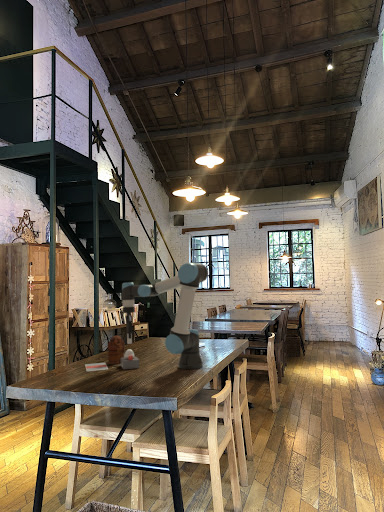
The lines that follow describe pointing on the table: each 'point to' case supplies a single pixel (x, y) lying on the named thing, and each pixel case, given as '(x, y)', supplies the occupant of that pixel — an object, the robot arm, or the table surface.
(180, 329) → the robot arm
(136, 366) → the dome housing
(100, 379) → the table surface
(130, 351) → the dome
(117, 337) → the wooden figurine
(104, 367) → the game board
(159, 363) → the table surface
